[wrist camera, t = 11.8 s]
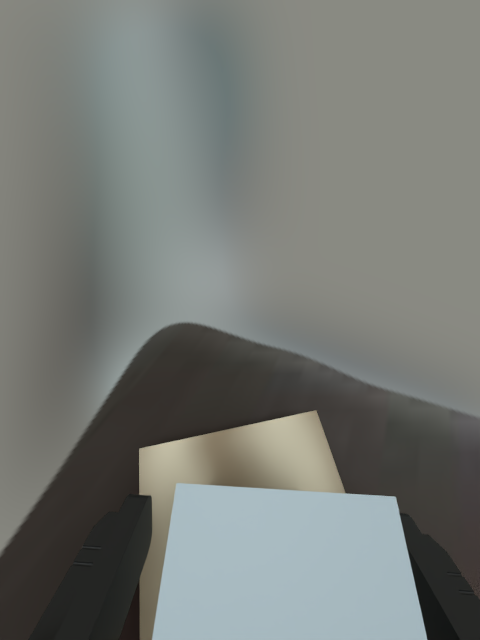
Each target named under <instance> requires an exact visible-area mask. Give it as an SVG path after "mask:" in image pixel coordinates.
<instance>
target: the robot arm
mask: <svg viewBox="0 0 480 640" xmlns="http://www.w3.org/2000/svg"><path fill="white" fill-rule="evenodd" d="M399 514H400V519H401V523H402V528H403V532H404V537H405V541H406V546H407V550H408V555H409V559H410V564H411V568H412V573H413V577H414V582H415V586H416V591H417V595H418V600H419V604H420V609H421V613H422V618H423V622H424V627H425V631H426V636H427V640H480V600H479V598H478V597H477V596H475V595H474V592H473V590H472V588H471V587H470V585H469V584H468V582H467V581H466V579H465V578H464V577H462V575H461V572H460V571H459V569H458V568H457V566H456V565H455V564H454V562H453V561H452V559H451V558H450V556H449V555H448V553H447V552H446V551H445V550H444V549H443V548H442V547H441V546H440V545H439V544H438V543H437V542H436V541H435V540H433V539H432V538H431V537H430V536H429V535H425V534H422V533H421V532H420V530H419V529H418V527H417V525H416V524H415V522H414V521H413V519H412V518H411V517H410V516H409V515H408V514H403V513H399ZM151 538H152V497H151V495H136V494H129V495H128V496H127V497H126V499H125V501H124V503H123V505H122V507H121V509H120V511H119V512H108V513H107V514H106V515H105V516H104V517H103V518H102V519H101V520H100V521H99V522H98V523H97V524H96V525H95V526H94V527H93V529H92V531H91V532H90V534H89V536H88V538H87V539H86V541H85V543H84V545H83V548H82V549H81V550H80V551H79V553H78V555H77V557H76V558H75V560H74V563H73V565H72V566H71V567H70V569H69V571H68V572H67V574H66V576H65V577H64V579H63V581H62V583H61V584H60V586H59V588H58V590H57V591H56V593H55V595H54V597H53V598H52V600H51V602H50V603H49V605H48V607H47V609H46V610H45V612H44V614H43V616H42V617H41V619H40V621H39V623H38V624H37V626H36V628H35V629H34V631H33V633H32V634H31V636H30V638H29V639H28V640H119V638H120V635H121V632H122V629H123V626H124V623H125V620H126V617H127V614H128V611H129V608H130V605H131V602H132V599H133V596H134V593H135V590H136V587H137V584H138V581H139V578H140V575H141V572H142V569H143V566H144V564H145V561H146V558H147V555H148V551H149V548H150V544H151Z"/></svg>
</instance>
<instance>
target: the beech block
mask: <svg viewBox="0 0 480 640" xmlns="http://www.w3.org/2000/svg"><path fill="white" fill-rule="evenodd" d="M176 483H184V484H200V485H216V486H232V487H248V488H264V489H280V490H296V491H312V492H328V493H344V494H346V493H345V491H344V488H343V485H342V482H341V479H340V476H339V474H338V471H337V468H336V465H335V462H334V459H333V457H332V454H331V451H330V448H329V445H328V442H327V440H326V437H325V434H324V431H323V428H322V425H321V423H320V420H319V417H318V414H317V411H316V410H315V411H311V412H306V413H302V414H297V415H292V416H288V417H283V418H279V419H274V420H269V421H265V422H260V423H256V424H251V425H246V426H242V427H237V428H232V429H228V430H223V431H219V432H214V433H209V434H205V435H200V436H196V437H191V438H186V439H182V440H177V441H173V442H168V443H163V444H159V445H154V446H150V447H145V448H140V449H139V495H151V497H152V538H151V544H150V548H149V551H148V555H147V558H146V561H145V564H144V566H143V569H142V572H141V575H140V640H152V636H153V630H154V623H155V617H156V611H157V604H158V598H159V591H160V585H161V579H162V572H163V566H164V559H165V553H166V547H167V540H168V534H169V527H170V521H171V515H172V508H173V502H174V495H175V489H176Z"/></svg>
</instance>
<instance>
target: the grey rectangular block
mask: <svg viewBox="0 0 480 640" xmlns="http://www.w3.org/2000/svg"><path fill="white" fill-rule="evenodd" d="M152 640H427V636H426V631H425V627H424V622H423V618H422V613H421V609H420V604H419V600H418V595H417V591H416V586H415V582H414V577H413V573H412V568H411V564H410V559H409V555H408V550H407V546H406V541H405V537H404V532H403V528H402V523H401V519H400V514H399V510H398V505H397V501H396V497H392V496H376V495H360V494H344V493H328V492H312V491H296V490H280V489H264V488H248V487H232V486H216V485H200V484H184V483H176V489H175V495H174V502H173V508H172V515H171V521H170V527H169V534H168V540H167V547H166V553H165V559H164V566H163V572H162V579H161V585H160V591H159V598H158V604H157V611H156V617H155V623H154V630H153V636H152Z"/></svg>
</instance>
